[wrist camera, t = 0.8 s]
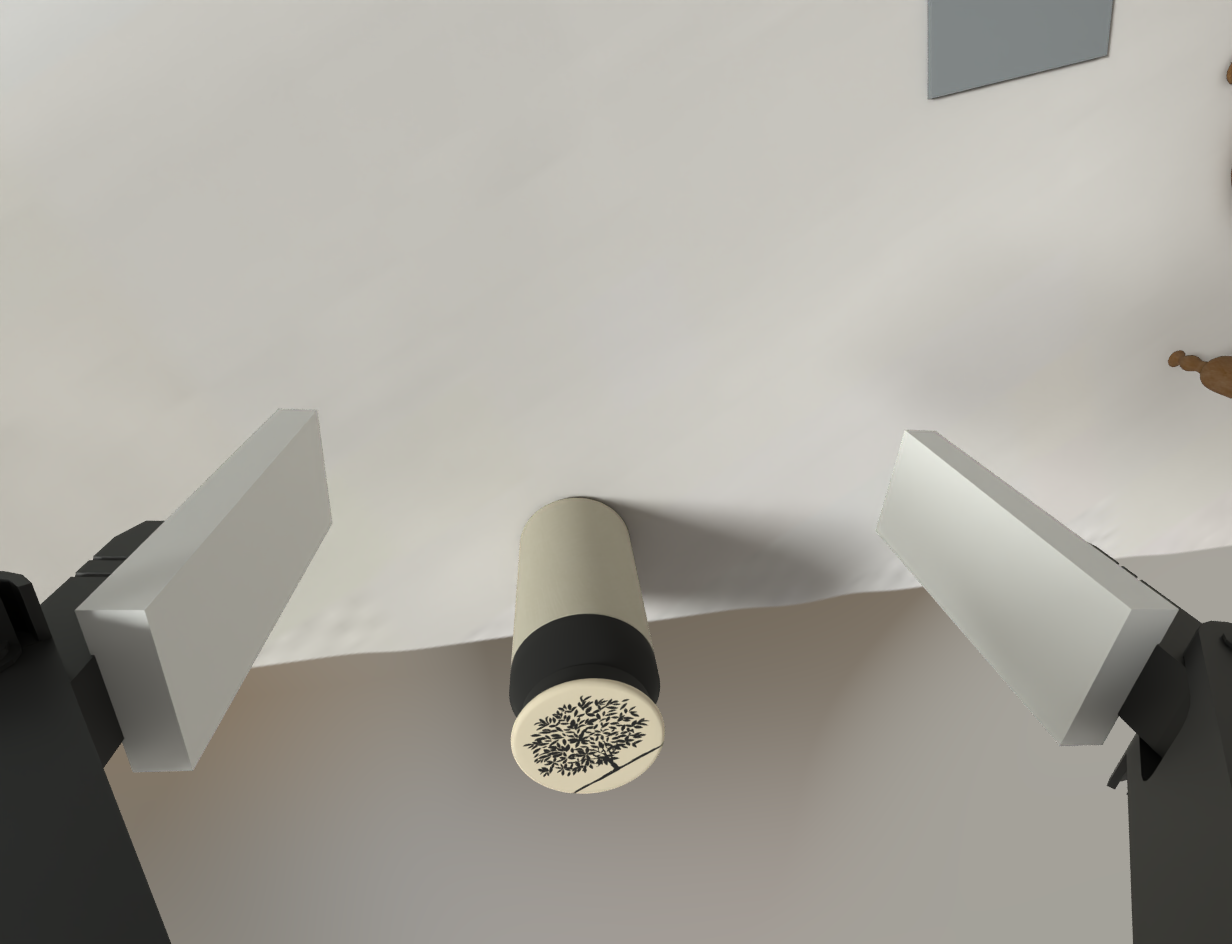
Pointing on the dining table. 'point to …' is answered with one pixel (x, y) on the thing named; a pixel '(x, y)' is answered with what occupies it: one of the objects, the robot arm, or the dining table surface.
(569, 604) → the travel mug
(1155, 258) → the dining table surface
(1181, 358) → the place setting
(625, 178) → the dining table surface
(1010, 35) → the slate rubber mat
